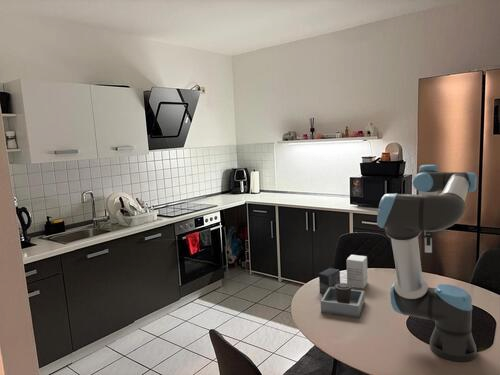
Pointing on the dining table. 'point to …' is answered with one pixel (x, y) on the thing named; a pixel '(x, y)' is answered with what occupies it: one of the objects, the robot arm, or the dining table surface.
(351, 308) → the bin
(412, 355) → the dining table surface
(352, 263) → the supplement box
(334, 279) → the small box
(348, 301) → the coffee cup
